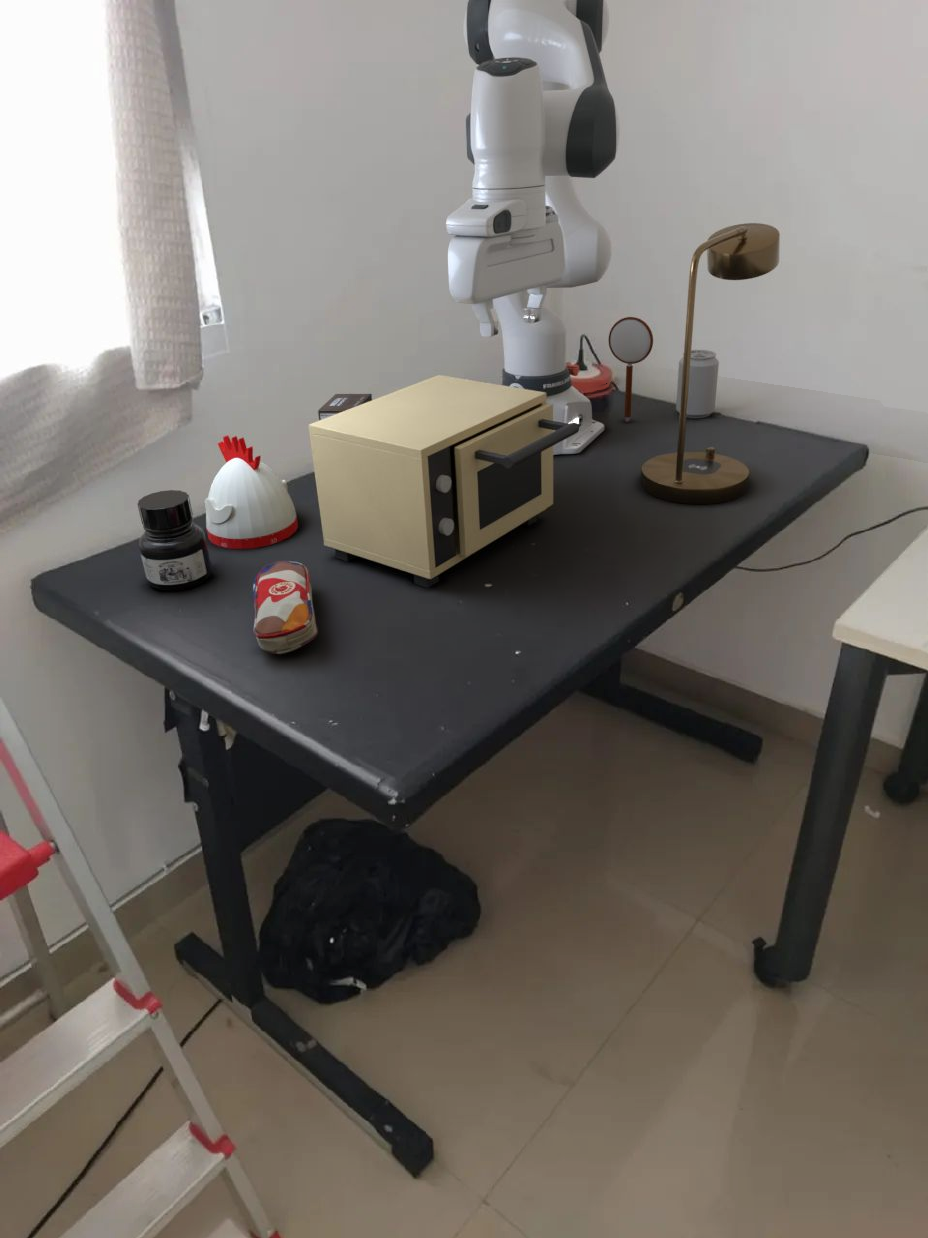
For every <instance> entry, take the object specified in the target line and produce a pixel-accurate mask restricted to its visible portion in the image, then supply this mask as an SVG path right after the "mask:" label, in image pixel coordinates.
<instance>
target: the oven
mask: <svg viewBox="0 0 928 1238" xmlns="http://www.w3.org/2000/svg"><path fill="white" fill-rule="evenodd" d="M545 404H546V393H545V392H539V391H533V390H527V389H521V388H515V387H509V386H503V385H502V384H498V383H497V384H496V383H490V382H484V381H479V380H473V379H472V380H471V379H466V378H461V377H460V378H459V377H453V376H448V375H443V374H437V375H435V376H433V377H430V378H427V379H425V380H422V381H419V382H416V383H414V384H411V385H408V386H406V387H403V388H400V389H398V390H395V391H392V392H390V393H388V394H385V395H383V396H379V397H378V398H375V399H372V401H369V402H367V403H364V404H361V405H359V406H356V407H354V408H351V409H348V410H346V411H343V412H341V413H338V414H335V415H333V416H330V417H327V418H325V419H322V420H320V421H319V420H317V421H315V422H312V423H310V424H308V432H309V439H310V448H311V456H312V464H313V471H314V477H315V485H316V492H317V494H316V495H317V500H318V509H319V516H320V523H321V530H322V537H323V538H322V539H323V545H324V546H325V547H329V548H331V549H334V550H335V558H336V559H340V560H341V561H345V562H350V561H352V560H353V559H355V558H357V557H360V558H362V559H366V560H369V561H372V562H375V563H378V564H380V565H381V564H382V565H384V566H388V567H391V568H394V569H396V570H400V571H403V572H407V573H409V574H412V575H413V583H414V584H415V585H418V586H421V587H424V588H427V589H428V588H430V587H431V586H433V585H436V583H438V582H439V581H440V579H439V578H440V577H439V575H440V574H442V573H443V572H445V571H447V570H448V569H450V568H452V567H454V566H455V565H457V564H458V563H460V562H462V561H463V560H465V559H467V558H469V557H470V556H471V555H473V554H475V553H476V552H478V551H480V550H481V549H483V548H485V547H486V546H488V545H489V544H491V543H494V541H496V540H498V539H499V538H501V537H504V535H506V534H507V533H509V532H511V531H513V530H514V529H516V528H518V527H519V526H521V525H524V526H527V527H529V526H531V525H532V524H534V523H535V522H537V521H538V515H539V514H541V513H542V512H544V511H546V510H547V509H548V508H546V509H544V510H543V511H541V512H539V513H538V514H536V515H534V516H533V517H531V518H529V519H528V520H526V521H525V522H523V523H521V524H520V525H518V526H516V527H515V528H513V529H511V530H510V531H508V532H506V533H505V534H503V535H501V536H500V537H498V538H497V539H495V540H493V541H492V542H490V543H488V544H487V545H485V546H483V547H482V548H480V549H478V550H477V551H475V552H473V553H472V554H470V555H469V556H467V557H464V556H461V555H460V539H459V521H458V503H457V484H456V466H455V447H456V446H459V445H461V444H463V443H465V442H467V441H469V440H471V439H473V438H475V437H478V436H480V435H482V434H484V433H486V432H488V431H490V430H492V429H494V428H497V427H499V426H501V425H503V424H505V423H507V422H509V421H511V420H513V419H516V418H518V417H520V416H522V415H524V414H526V413H528V412H530V411H533V410H535V409H537V408H539V407H541V406H543V405H545Z"/></svg>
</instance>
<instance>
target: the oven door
mask: <svg viewBox="0 0 928 1238" xmlns="http://www.w3.org/2000/svg"><path fill="white" fill-rule="evenodd" d="M553 430H556V431H554V432H553ZM578 431H579V426H578V424H577V423H575V422H572V423H570V424H567V423H562V422H556V421H553V404H548V403H547V404H545V405H543V406H541V407H539V408H537V409H535V410H533V411H530V412H528V413H526V414H524V415H522V416H520V417H518V418H516V419H513V420H511V421H509V422H507V423H505V424H503V425H501V426H499V427H497V428H494V429H492V430H490V431H488V432H486V433H484V434H482V435H480V436H478V437H475V438H473V439H471V440H469V441H467V442H465V443H463V444H461V445H459V446H456V447H455V466H456V484H457V503H458V521H459V539H460V555H461V556H464V557H466V558H468V557H470V556H471V555H473V554H474V553H473V552H475V551H476V552H478V551H479V550H478V549H480V548H481V549H483V548H484V547H483V546H485V545H486V546H488V545H489V544H491V543H493V542H494V541H496V540H498V539H499V538H501V537H502V536H501V535H503V534H504V535H506V534H507V533H506V532H508V531H509V532H511V531H512V530H511V529H513V528H514V529H516V528H517V527H519V526H521V525H522V524H521V523H523V522H525V521H526V520H528V519H529V518H531V517H533V516H534V515H536V514H537V515H539V514H540V513H542V512H544V511H545V510H547V509H548V508H550V507H551V506H552V505H554V455H553V445H555V444H557V443H559V442H561V441H563V440H565V439H566V438H568V437H570V436H572V435H574V434H576V433H578ZM546 508H547V509H546ZM544 509H545V510H544ZM543 510H544V511H543ZM541 511H542V512H541ZM539 512H540V513H539ZM538 513H539V514H538ZM520 524H521V525H520ZM518 525H519V526H518ZM516 526H517V527H516ZM515 527H516V528H515ZM514 529H513V530H514ZM510 530H511V531H510ZM509 532H508V533H509ZM505 533H506V534H505ZM504 535H503V536H504ZM500 536H501V537H500ZM498 537H499V538H498ZM497 538H498V539H497ZM495 539H496V540H495ZM493 540H494V541H493ZM492 541H493V542H492ZM490 542H491V543H490ZM488 543H489V544H488ZM487 544H488V545H487ZM486 546H485V547H486ZM482 547H483V548H482ZM481 549H480V550H481ZM477 550H478V551H477ZM476 552H475V553H476ZM472 553H473V554H472ZM470 554H471V555H470ZM469 555H470V556H469ZM467 556H468V557H467Z"/></svg>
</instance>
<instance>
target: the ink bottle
mask: <svg viewBox="0 0 928 1238" xmlns="http://www.w3.org/2000/svg"><path fill="white" fill-rule="evenodd" d="M136 504H137V509H138V512H139V517H140V521H141V525H142V528H143V530H144V533H142V535H140V539H139V541H138V546H139V550H140V551H139V552H140V557H141V561H142V565H143V566H142V567H143V571H144V574H145V577H146V579H147V582H148V584H149V586H150V587H152V588H153V589H156V590H159V591H168V592H169V591H170V592H171V591H182V590H187V589H190V588H194V587H197V586H199V585H200V584H202V583H204V582H206V581H207V580H208V578H209V577H211V574H212V563H211V559H210V555H209V554H210V553H209V550H208V545H207V539H206V535H205V534H206V533H205V532H204V529H203V528H202V527H201V526H200V525H198V524H196V523H195V522H194V514H193V509H192V508H193V507H192V504H191V499H190V495H189V494H188V493H187V492H186V491H182V490H177V489H176V490H175V489H169V490H159V491H156V492H152V493H149V494H147V495H144V496H142V497H141V498H140V499H138V502H137V503H136Z"/></svg>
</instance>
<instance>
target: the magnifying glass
mask: <svg viewBox="0 0 928 1238" xmlns="http://www.w3.org/2000/svg"><path fill="white" fill-rule="evenodd" d="M653 345H654V335H653V332H652V330H651V327H650V326H649V325H648V324H647V323H646V322H645V321H644V320H643V319H641V318H639V317H637V316H636V317H635V316H626V317H623V318H620V319H618V320H617V321H616V322H615V323H614V324H613V325H612V326H611V328H610V330H609V333H608V347H609V350H610V352H611V354H612V355H613V356H614V358H615V359H617V360H618V361H619V362H621V363H624V364H627V365H626V368H625V391H624V393H625V394H624V397H625V398H624V418H625V422H626V423H629V421H630V418H631V417H632V416H631V415H632V394H633V392H632V390H633V369H634V367H633V365H634V364H635V365H636V364H638V363H641V362H642V361H644V360H646V359H647V358H648V356H649V355H650V354H651V351H652V349H653Z"/></svg>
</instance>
